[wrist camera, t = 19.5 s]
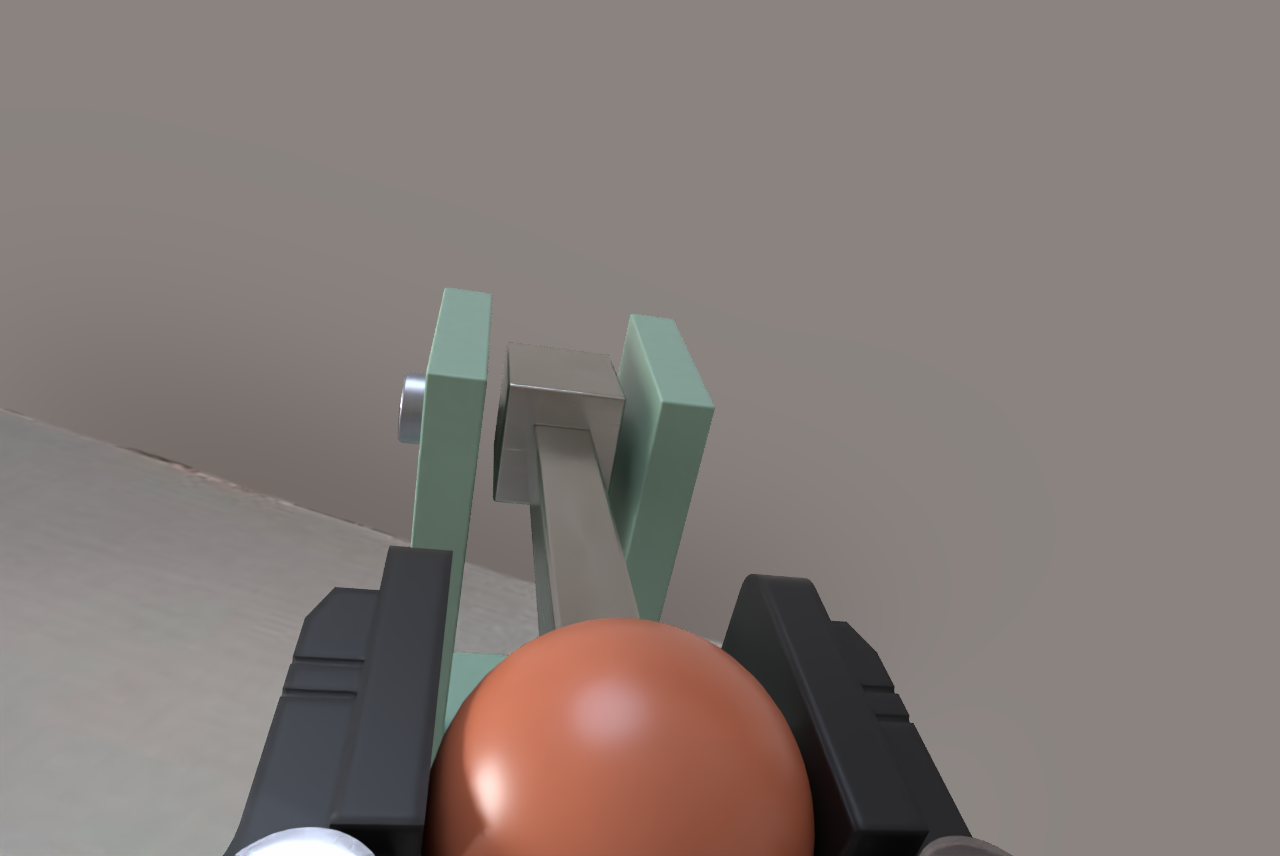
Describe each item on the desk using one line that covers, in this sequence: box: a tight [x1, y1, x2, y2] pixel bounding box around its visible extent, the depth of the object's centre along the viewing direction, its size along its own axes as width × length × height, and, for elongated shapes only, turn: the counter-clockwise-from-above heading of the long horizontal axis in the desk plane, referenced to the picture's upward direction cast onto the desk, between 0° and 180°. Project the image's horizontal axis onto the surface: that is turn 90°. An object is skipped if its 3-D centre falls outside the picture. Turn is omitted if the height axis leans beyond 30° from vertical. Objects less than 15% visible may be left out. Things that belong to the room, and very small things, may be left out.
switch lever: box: [421, 342, 815, 856], centre depth 12 cm, size 13×4×4 cm, turn 7°
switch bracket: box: [398, 288, 715, 769], centre depth 19 cm, size 10×7×14 cm
